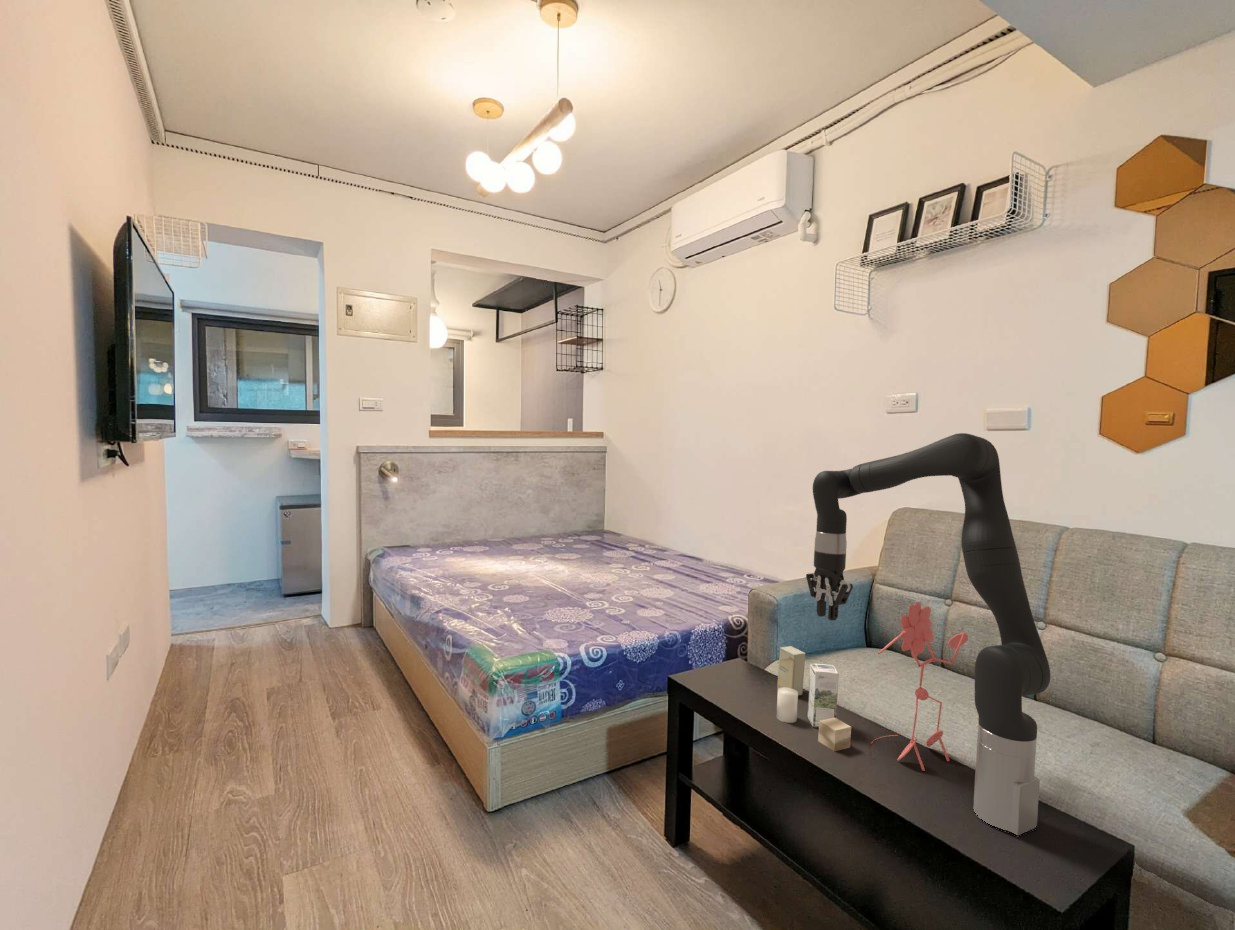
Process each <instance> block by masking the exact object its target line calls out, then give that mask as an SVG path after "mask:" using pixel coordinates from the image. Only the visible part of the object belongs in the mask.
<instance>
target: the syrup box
mask: <svg viewBox="0 0 1235 930" xmlns="http://www.w3.org/2000/svg"><path fill="white" fill-rule="evenodd" d="M839 677H840V675H839V672H838V670H837V669H836V667H835V666H834V665H833V664H823V663H814V662H813V663H810V667H809V682H808V683H809V685H808V702H807V703H808V705H807V714H806V715H807V719H808V720H809V723H810V724H811V726H812V727H813V728H818V729H819V721H821V720H825V719H830V718H834V717H835V718H837V712H838V711H837V710H838V709H837V708H838V693H839V679H840V678H839Z"/></svg>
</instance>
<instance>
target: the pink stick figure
mask: <svg viewBox="0 0 1235 930" xmlns="http://www.w3.org/2000/svg"><path fill="white" fill-rule="evenodd" d="M907 612H908V616H907V615H904V614H903V615H902V616H900V625H901V627H902V630H901V632H900V634H898V635H897V636H896V637H895V638H893V639H892V640H891V641H889V642H888V644H886V645H885V646H884V647H883V648H882V649H880V651H878V653H877V655H880V654H882V653H883V652H885V650H887V649H888V648H890V646H892V645H893V644H895V643H896V641H898V640H899V639H900V638H901V639H902V640H903V642H902V644H901V651H903V652H906V651H909V650H910V654H911V657H912V659H914V660H915V663H916V665H917V666H918V668H920V667H921V668H920V676H919V687H918V688H917V689H915V691H914V695H915V697H916V698H915V711H914V712H915V713H914V719H913V726H912V735H911V740H910V741H909V743H908V745H906V747H905V748H904V749H903V750H902V752H901V754H900V755H899V756H898V758H897V759H896V760H897V761H898V762H899V761H901V759H903V758H904V757H906V755H907V754H908V753H909V752H910V751H911V750H912V748H914V749H913V750H915V754H916V757H917V760H918V763H919V765H920V768H921V771H923V772H924V771H926V770H925V767H924V764H923V761H922V758H921V756H920V755H921V754H920V752H919V749H918V747H917V744H916V743H917V740H918V738H915V731H916V723H917V717H918V704H919V700H920V701H926V700H928V699H931V700H932V701H935V702H936V703H939V710H938V716H937V717H938V718H937V724H936V731H935V732H934V733H933V734H931V736H930V737H929V738H928V739H926V742H925V744H926V746H927V747H928V748H930V747H931V746H932V745H934V744H935V743H937V742H938V741H939V744H940V745H941V746H940V747H941V749H942V751H943V754H944V756H945V759H946V761H947V762H950V758H949V756H948V752H947V750H946V748H945V746H944V741H943V740H942V736H943V735H944V731H943V730H939V728H940V722H941V721H940V720H941V712H942V707H943V704H942V701H940V700H938V699H936V698H933V697H931V696H930V695H929V691H928V690H927V689H926V688H923V687H922V685H923V676H924V671H925V666H926V665H928V664H930V663H932V662H933V663H935V662H937V661H938V662H940V663H944V664H948V665H952V666H953V665H954V663H955V661H956V659H957V656H958V653H959V651H960V648H961V646H963V645H965V644H966V643H967V641H968V640H969V636H968V634H967V633H966V632H965V631H963V632H961V633H957V634H955V635H954V636H953V635H952V637H951V638H949V640H948V643H947V644H948V645H949V648H950V649H951V650H954V649H955V652H954V654H953V656H952V659H951V661H950V660H949V661H948V660H945V659H941V658H937V657H936V656H935V655H934V652H933V649H932V647H931V644H930V643H931V642H933V639H934V635H933V631H932V628H931V626H932V621H931V620H930V615H931V607H930V606H924V607H923V608H922V603H921V602H920V601H918V602H916V603H915V604H913V603H912V604H910V606H909V608H908V611H907ZM925 643H926V645H925ZM925 646H927V649H928V650H929V654H930V656H931V657H930V658H928V659H926V660H924V661H922V662H920V661H919V658H918V656H919V654H924V653H923V652H924V650H925ZM896 736H897V737H898V734H893V735H891V734H890V735H889V737H896ZM886 737H888V735H883V736H881V737H880V736H879V737H878V736H876V737H875V739H874V740H873V741H871V743H873V742H874V741H875V740H879V739H881V738H886ZM869 753H870V754H872V752H871V751H869ZM960 753H962V754H963V755H964V756H967V757H968V755H967V754H966V753H964V752H962V751H960Z"/></svg>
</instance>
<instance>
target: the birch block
mask: <svg viewBox="0 0 1235 930" xmlns="http://www.w3.org/2000/svg"><path fill="white" fill-rule="evenodd" d="M851 735H852V726H850V725H849V724H847V723H846V722H845V721H844V722H843V721H842V720H840V719H838V718H837V717H836V718H835V717H834V718H830V719H825V720H821V721H819V728H818V735H817V736H818V738H817V742H818V743H820V744H822V745H823V746H824V747H826V748H828V749H830V750H831V751H832V752H839V751H841V750H846V749H850V748H851V738H852V736H851Z"/></svg>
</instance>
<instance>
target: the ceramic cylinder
mask: <svg viewBox="0 0 1235 930" xmlns="http://www.w3.org/2000/svg"><path fill="white" fill-rule="evenodd" d="M776 696H777V698H776V699H777V700H776V719H778V721H780V722H783V723H786V724H793V723H796V722H797V719H798V702H799V701H798V699H799V695H798V692H797V691H796V690H794V689H791V688H786V687H782V688H779V689H778V688H777V695H776Z"/></svg>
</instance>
